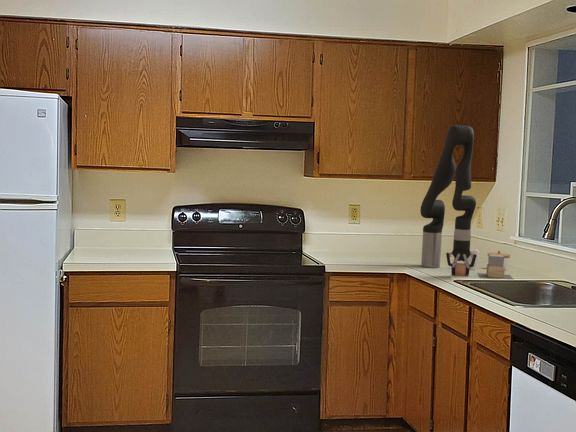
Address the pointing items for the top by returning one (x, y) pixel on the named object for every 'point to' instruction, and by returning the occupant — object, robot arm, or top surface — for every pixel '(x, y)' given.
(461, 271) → the terracotta cylinder
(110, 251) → the top surface
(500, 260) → the grey block
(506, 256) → the lidded jar
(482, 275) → the charcoal mat
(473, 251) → the white cup
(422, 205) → the robot arm
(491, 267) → the maple block
